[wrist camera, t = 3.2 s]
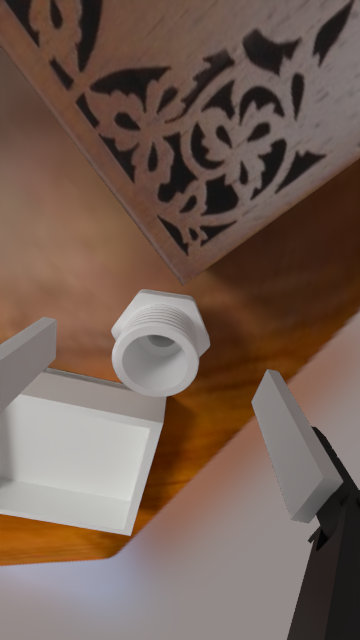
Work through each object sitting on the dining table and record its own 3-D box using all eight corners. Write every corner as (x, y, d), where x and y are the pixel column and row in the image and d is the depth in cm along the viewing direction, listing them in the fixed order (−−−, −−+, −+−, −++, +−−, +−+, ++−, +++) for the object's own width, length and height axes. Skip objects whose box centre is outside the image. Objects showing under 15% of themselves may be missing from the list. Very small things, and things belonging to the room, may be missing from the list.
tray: (-26, 351, 23) (-66, 376, 20) (167, 392, 25) (163, 423, 21) (-8, 473, 31) (-34, 507, 28) (136, 499, 33) (130, 535, 29)
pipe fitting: (219, 304, 20) (236, 353, 13) (170, 357, 23) (162, 423, 16) (161, 259, 19) (145, 285, 12) (116, 320, 21) (79, 374, 14)
